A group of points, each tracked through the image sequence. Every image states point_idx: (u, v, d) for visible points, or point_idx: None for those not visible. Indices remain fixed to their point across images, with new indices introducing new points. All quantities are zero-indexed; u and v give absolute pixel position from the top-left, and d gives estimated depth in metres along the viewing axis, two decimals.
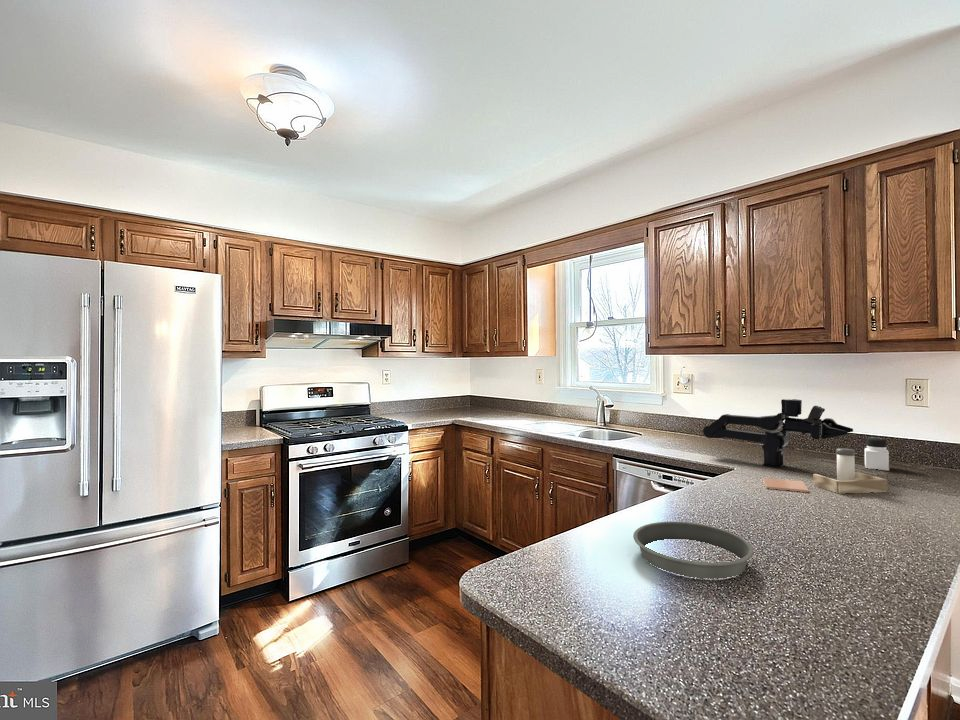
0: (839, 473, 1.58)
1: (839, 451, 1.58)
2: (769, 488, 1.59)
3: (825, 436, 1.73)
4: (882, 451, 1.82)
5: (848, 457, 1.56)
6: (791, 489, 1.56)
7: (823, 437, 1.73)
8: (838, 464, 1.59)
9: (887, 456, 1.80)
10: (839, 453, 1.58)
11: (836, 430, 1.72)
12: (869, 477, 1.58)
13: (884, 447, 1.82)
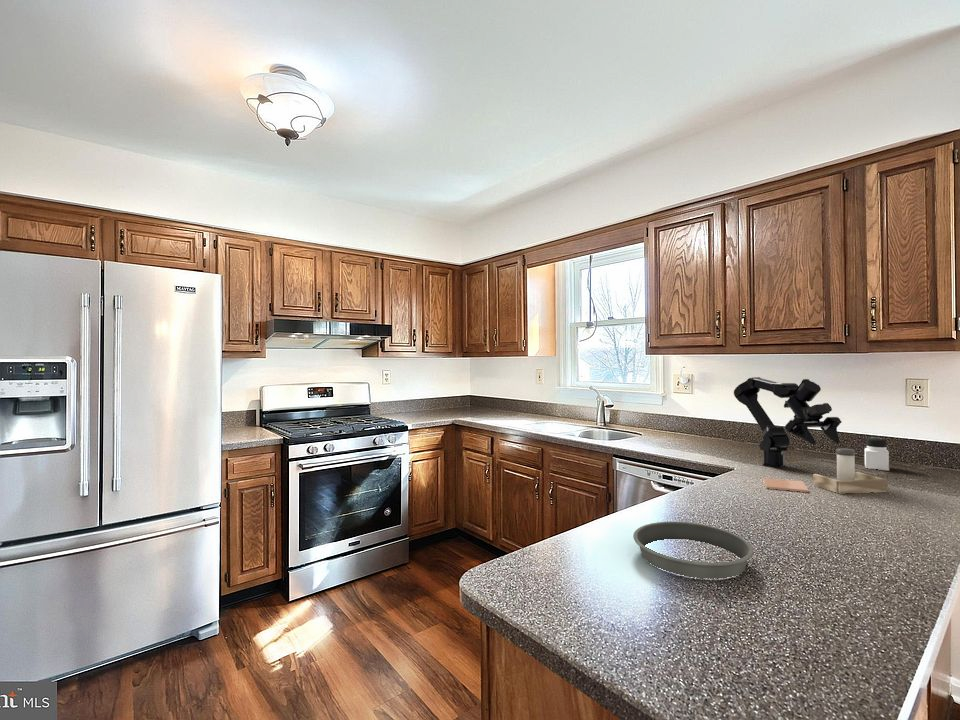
0: (839, 473, 1.58)
1: (839, 451, 1.58)
2: (769, 488, 1.59)
3: (797, 433, 1.71)
4: (882, 451, 1.82)
5: (848, 457, 1.56)
6: (791, 489, 1.56)
7: (794, 433, 1.72)
8: (838, 464, 1.59)
9: (887, 456, 1.80)
10: (839, 453, 1.58)
11: (808, 436, 1.67)
12: (869, 477, 1.58)
13: (884, 447, 1.82)
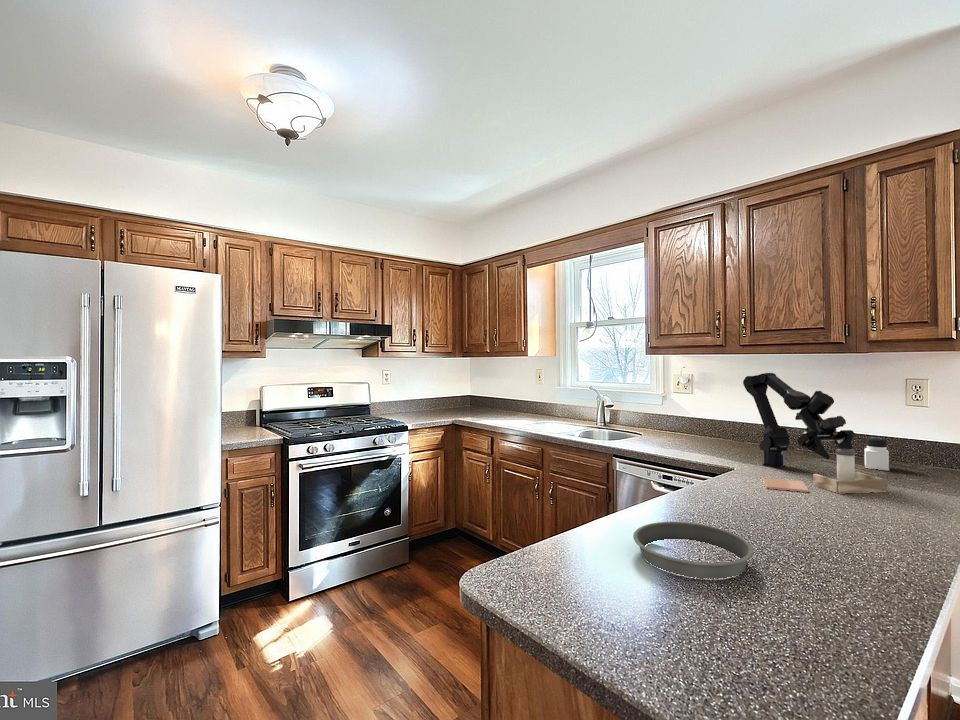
0: (839, 473, 1.58)
1: (839, 451, 1.58)
2: (769, 488, 1.59)
3: (810, 447, 1.65)
4: (882, 451, 1.82)
5: (848, 457, 1.56)
6: (791, 489, 1.56)
7: (806, 447, 1.66)
8: (838, 464, 1.59)
9: (887, 456, 1.80)
10: (839, 453, 1.58)
11: (821, 450, 1.62)
12: (869, 477, 1.58)
13: (884, 447, 1.82)
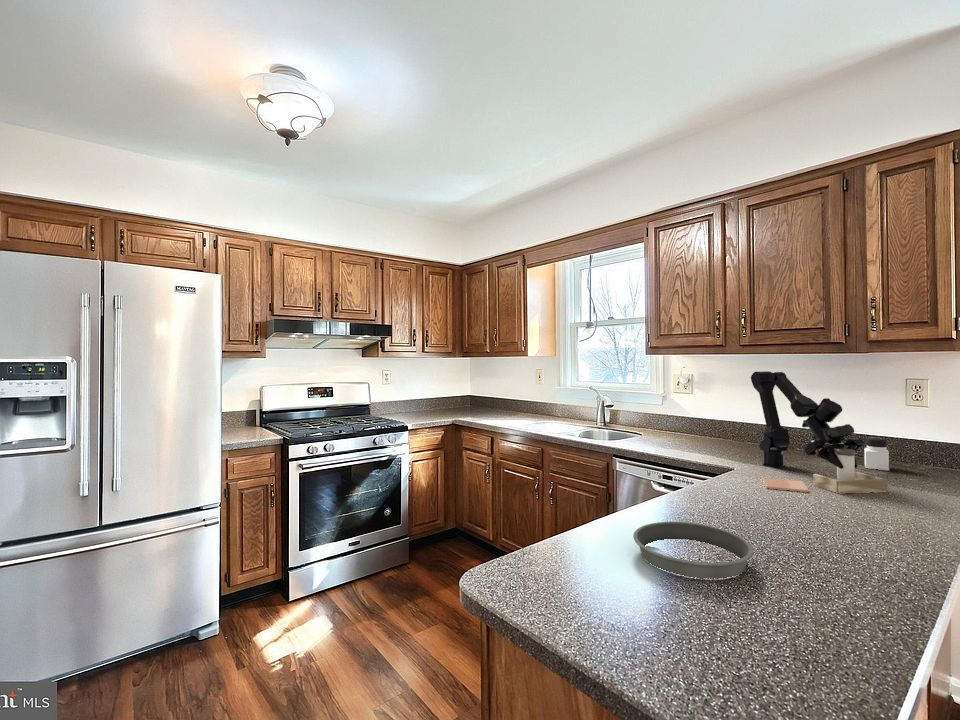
0: (839, 473, 1.58)
1: (839, 451, 1.58)
2: (769, 488, 1.59)
3: (822, 456, 1.62)
4: (882, 451, 1.82)
5: (848, 457, 1.56)
6: (791, 489, 1.56)
7: (819, 455, 1.63)
8: None
9: (887, 456, 1.80)
10: (839, 453, 1.58)
11: (835, 459, 1.59)
12: (869, 477, 1.58)
13: (884, 447, 1.82)
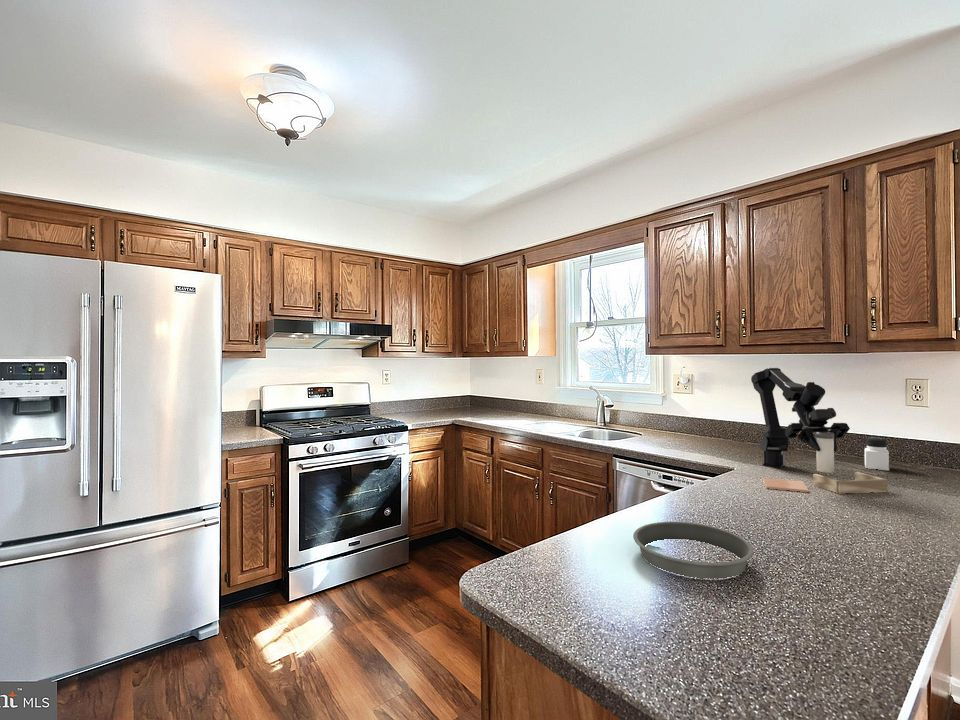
0: (817, 456, 1.59)
1: (817, 434, 1.59)
2: (769, 488, 1.59)
3: (803, 439, 1.63)
4: (882, 451, 1.82)
5: (826, 440, 1.56)
6: (791, 489, 1.56)
7: (799, 438, 1.64)
8: None
9: (887, 456, 1.80)
10: (817, 436, 1.59)
11: (812, 442, 1.59)
12: (869, 477, 1.58)
13: (884, 447, 1.82)
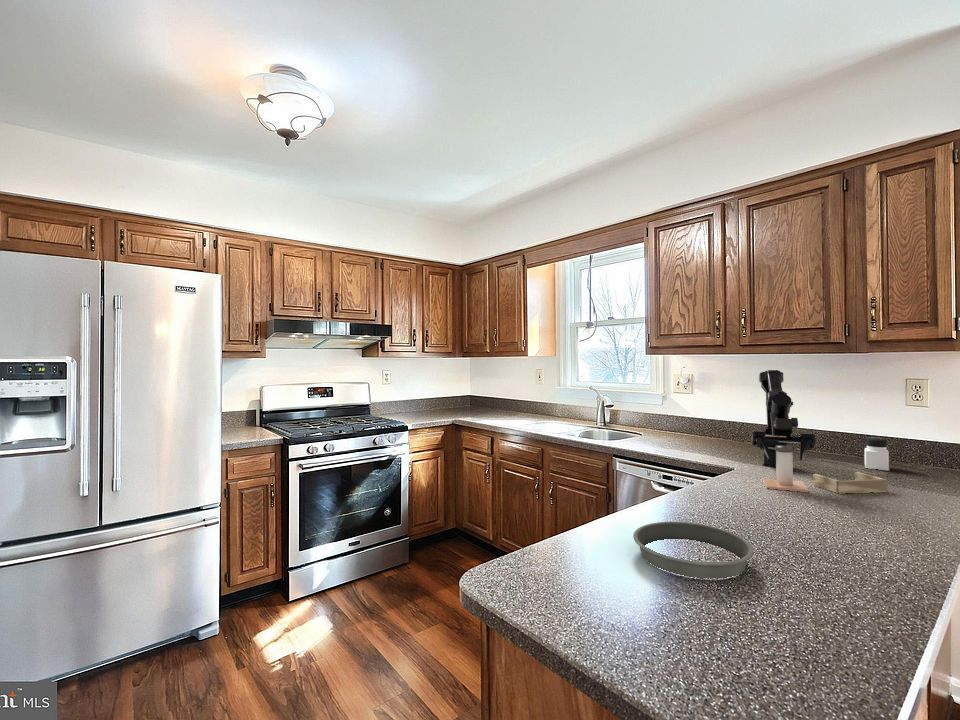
0: (776, 468, 1.63)
1: (776, 447, 1.62)
2: (769, 488, 1.59)
3: (761, 446, 1.68)
4: (882, 451, 1.82)
5: (781, 453, 1.60)
6: (791, 489, 1.56)
7: (758, 446, 1.69)
8: (776, 460, 1.63)
9: (887, 456, 1.80)
10: (776, 449, 1.62)
11: (765, 450, 1.64)
12: (869, 477, 1.58)
13: (884, 447, 1.82)
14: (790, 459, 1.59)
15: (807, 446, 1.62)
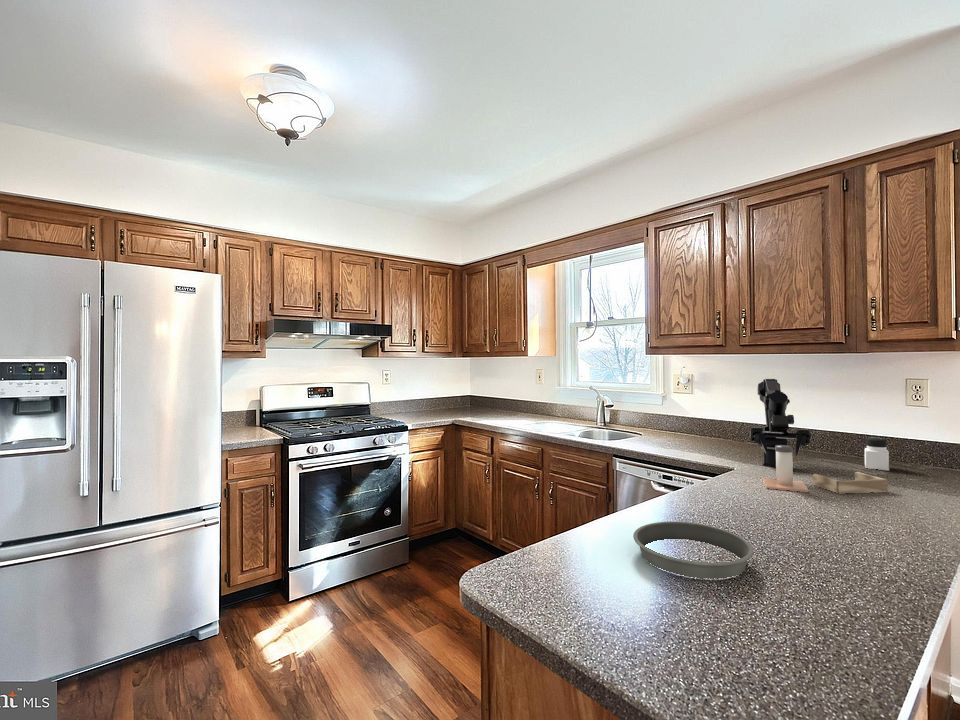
0: (776, 469, 1.63)
1: (775, 447, 1.63)
2: (769, 488, 1.59)
3: (758, 442, 1.76)
4: (882, 451, 1.82)
5: (781, 453, 1.60)
6: (791, 489, 1.56)
7: (756, 442, 1.77)
8: (776, 460, 1.63)
9: (887, 456, 1.80)
10: (775, 449, 1.63)
11: (762, 445, 1.72)
12: (869, 477, 1.58)
13: (884, 447, 1.82)
14: (790, 459, 1.59)
15: (803, 442, 1.70)
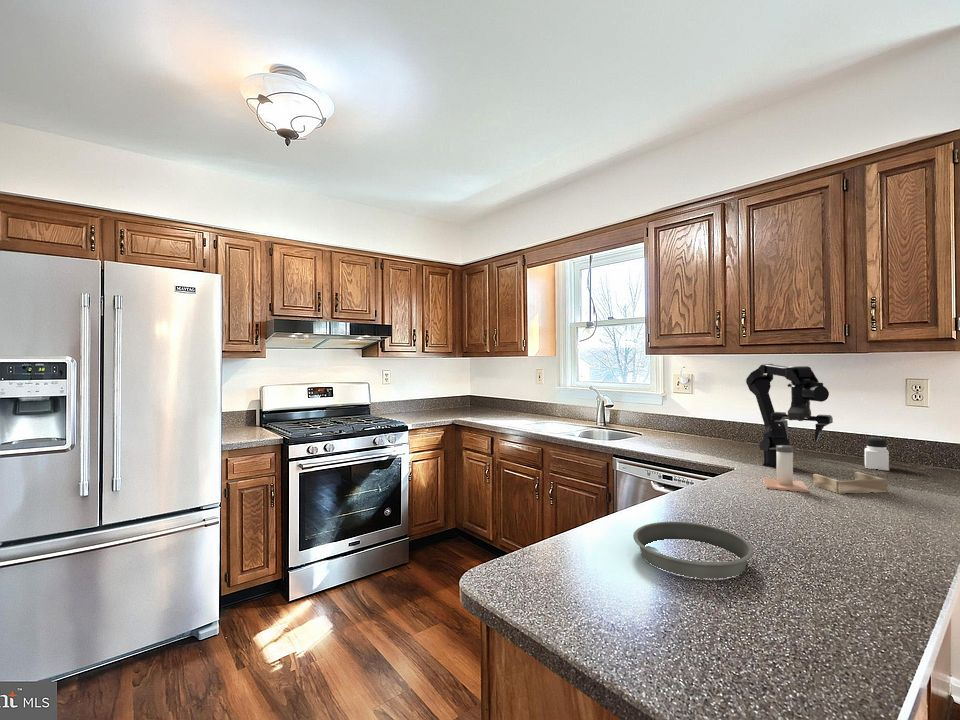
0: None
1: (776, 447, 1.62)
2: (769, 488, 1.59)
3: None
4: (882, 451, 1.82)
5: (782, 453, 1.60)
6: (791, 489, 1.56)
7: None
8: None
9: (887, 456, 1.80)
10: (776, 449, 1.62)
11: None
12: (869, 477, 1.58)
13: (884, 447, 1.82)
14: (790, 459, 1.59)
15: None
